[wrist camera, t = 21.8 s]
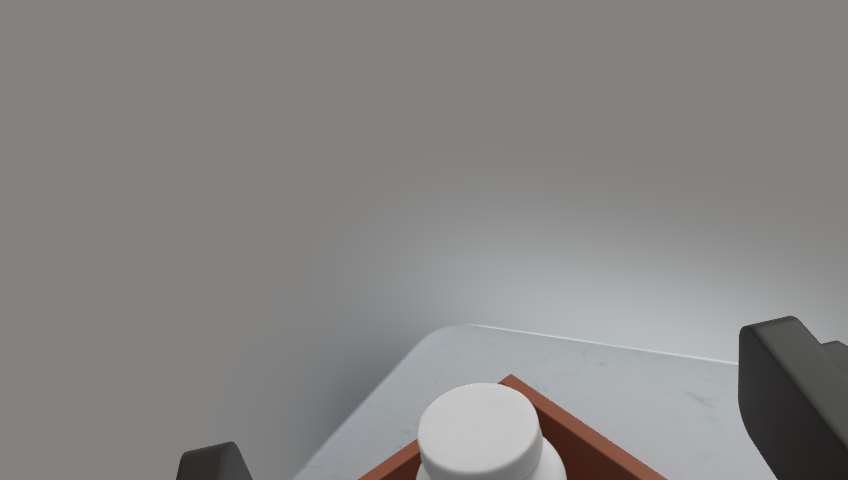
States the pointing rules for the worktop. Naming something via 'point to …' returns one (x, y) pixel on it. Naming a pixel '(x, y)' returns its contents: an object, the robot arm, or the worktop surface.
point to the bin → (572, 439)
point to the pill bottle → (484, 437)
